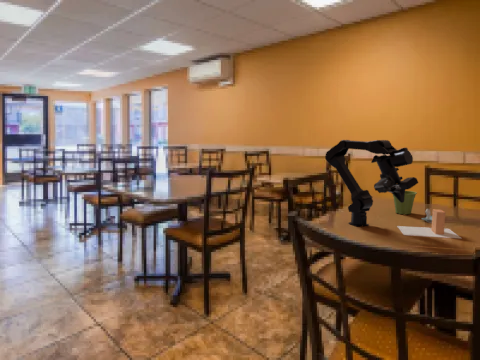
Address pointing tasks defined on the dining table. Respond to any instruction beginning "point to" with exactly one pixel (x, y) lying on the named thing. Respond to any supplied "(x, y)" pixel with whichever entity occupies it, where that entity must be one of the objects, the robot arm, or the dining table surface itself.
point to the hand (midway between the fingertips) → (402, 202)
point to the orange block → (438, 221)
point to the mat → (426, 232)
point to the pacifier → (428, 216)
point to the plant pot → (405, 203)
